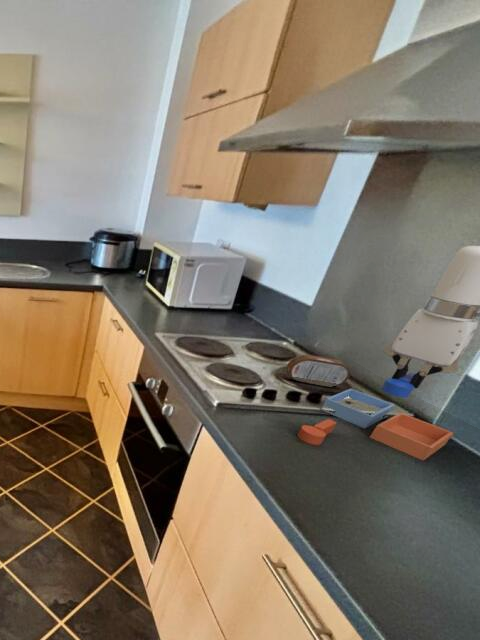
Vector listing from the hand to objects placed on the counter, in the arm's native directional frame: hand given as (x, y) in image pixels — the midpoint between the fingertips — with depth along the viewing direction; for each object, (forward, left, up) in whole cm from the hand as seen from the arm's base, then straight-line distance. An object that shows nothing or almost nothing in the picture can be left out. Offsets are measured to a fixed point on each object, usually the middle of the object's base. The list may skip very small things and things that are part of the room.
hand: (402, 386), depth 94 cm
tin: (+21, -17, -13) cm, 30 cm away
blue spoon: (0, +1, -1) cm, 1 cm away
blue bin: (+7, -8, -13) cm, 17 cm away
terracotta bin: (-5, -4, -13) cm, 15 cm away
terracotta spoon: (+6, +15, -13) cm, 21 cm away
